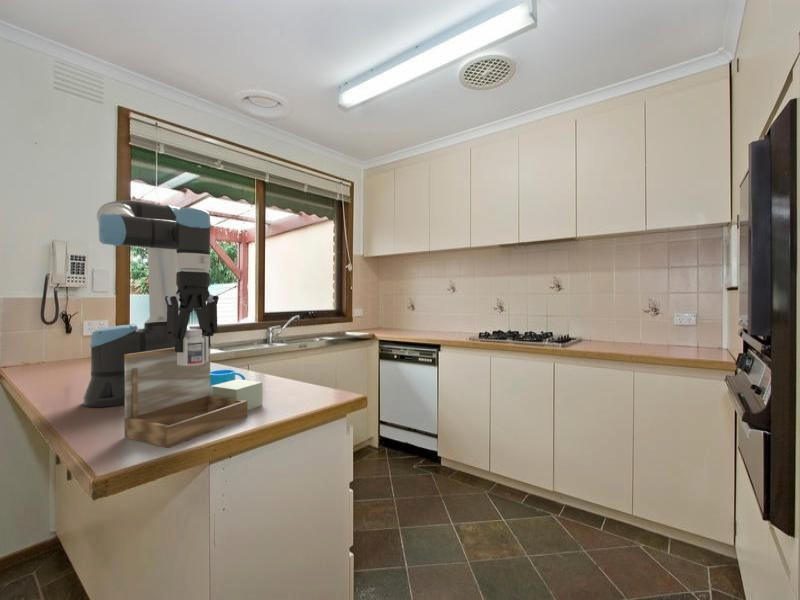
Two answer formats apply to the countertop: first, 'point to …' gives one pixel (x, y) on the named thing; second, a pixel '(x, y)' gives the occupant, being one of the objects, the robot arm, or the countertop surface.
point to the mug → (223, 377)
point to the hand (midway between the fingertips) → (193, 362)
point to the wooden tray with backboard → (173, 399)
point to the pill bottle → (195, 347)
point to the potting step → (240, 391)
